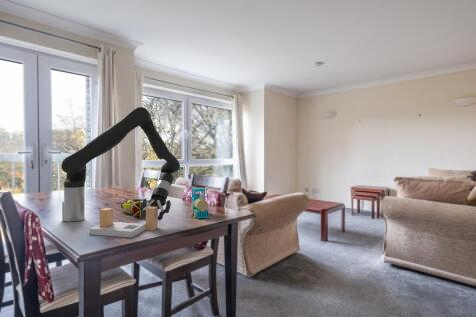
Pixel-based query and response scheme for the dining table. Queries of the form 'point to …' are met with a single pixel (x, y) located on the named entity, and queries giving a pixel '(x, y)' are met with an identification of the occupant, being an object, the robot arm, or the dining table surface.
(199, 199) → the teal food carton
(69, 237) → the dining table surface
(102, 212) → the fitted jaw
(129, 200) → the toy
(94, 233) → the plate
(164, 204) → the robot arm
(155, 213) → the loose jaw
